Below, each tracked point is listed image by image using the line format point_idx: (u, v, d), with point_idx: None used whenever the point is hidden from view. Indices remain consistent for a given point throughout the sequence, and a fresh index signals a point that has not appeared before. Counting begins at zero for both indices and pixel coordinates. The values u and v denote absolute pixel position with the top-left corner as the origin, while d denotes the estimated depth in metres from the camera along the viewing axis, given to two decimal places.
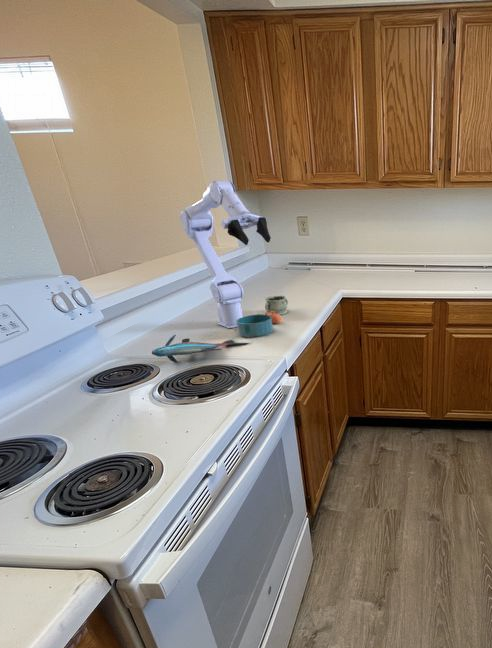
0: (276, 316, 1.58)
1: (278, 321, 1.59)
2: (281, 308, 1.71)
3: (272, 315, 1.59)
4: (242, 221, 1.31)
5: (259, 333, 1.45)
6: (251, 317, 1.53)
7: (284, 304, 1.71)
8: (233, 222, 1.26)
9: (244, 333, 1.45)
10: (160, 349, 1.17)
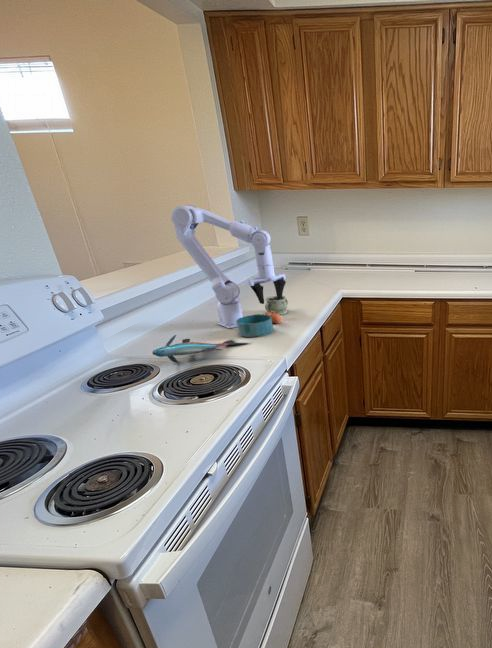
0: (276, 316, 1.58)
1: (278, 321, 1.59)
2: (281, 308, 1.71)
3: (272, 315, 1.59)
4: None
5: (259, 333, 1.45)
6: (251, 317, 1.53)
7: (284, 304, 1.71)
8: (258, 288, 1.50)
9: (244, 333, 1.45)
10: (161, 349, 1.17)
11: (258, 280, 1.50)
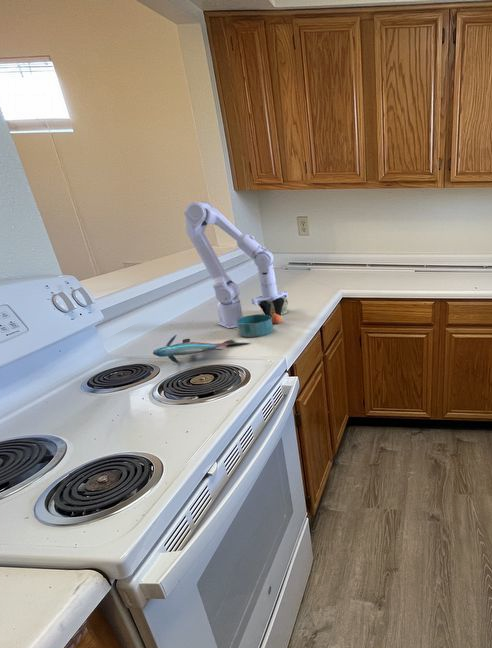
0: (276, 316, 1.58)
1: (278, 321, 1.59)
2: None
3: (272, 315, 1.59)
4: None
5: (259, 333, 1.45)
6: (251, 317, 1.53)
7: (284, 304, 1.71)
8: (266, 306, 1.54)
9: (244, 333, 1.45)
10: (161, 349, 1.17)
11: (261, 299, 1.53)
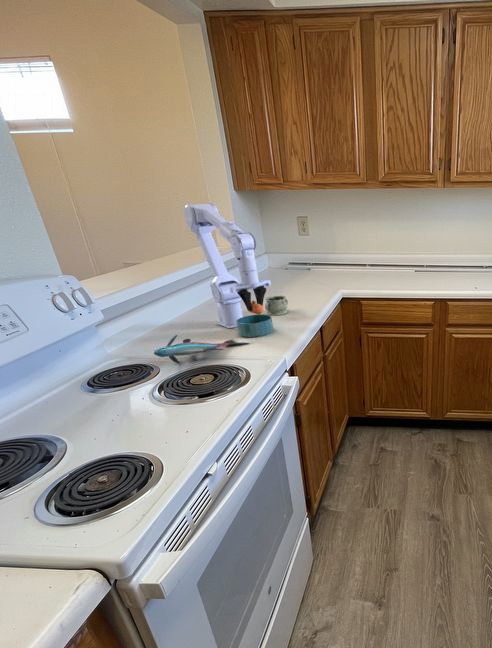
0: (257, 306, 1.45)
1: (260, 311, 1.45)
2: (281, 308, 1.71)
3: (253, 305, 1.46)
4: None
5: (259, 333, 1.45)
6: (251, 317, 1.53)
7: (284, 304, 1.71)
8: (246, 295, 1.41)
9: (244, 333, 1.45)
10: (162, 349, 1.17)
11: (240, 287, 1.40)
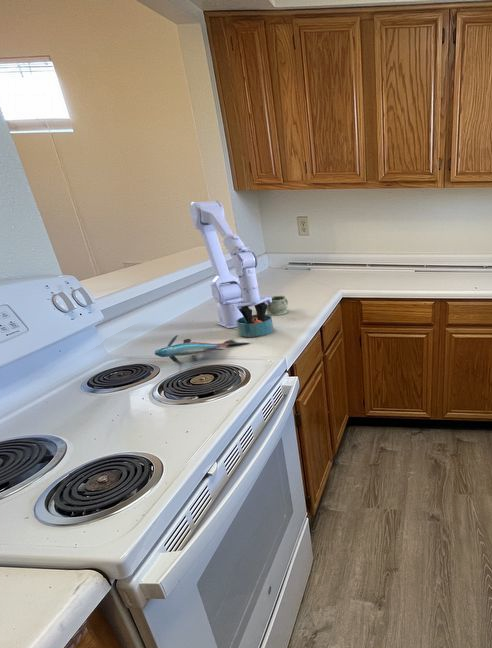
0: None
1: None
2: (281, 308, 1.71)
3: (254, 321, 1.47)
4: None
5: (259, 333, 1.45)
6: None
7: (284, 304, 1.71)
8: (247, 312, 1.43)
9: (244, 333, 1.45)
10: (163, 349, 1.17)
11: (242, 304, 1.41)
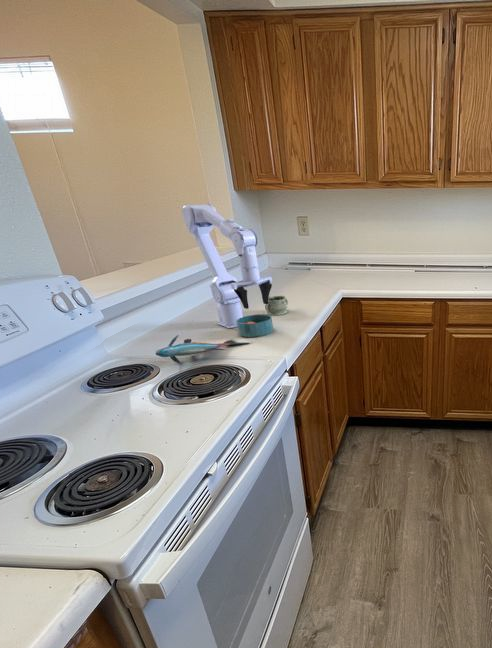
0: None
1: None
2: (281, 308, 1.71)
3: None
4: None
5: (259, 333, 1.45)
6: (251, 317, 1.53)
7: (284, 304, 1.71)
8: (242, 292, 1.40)
9: (244, 333, 1.45)
10: (164, 350, 1.17)
11: (241, 283, 1.40)
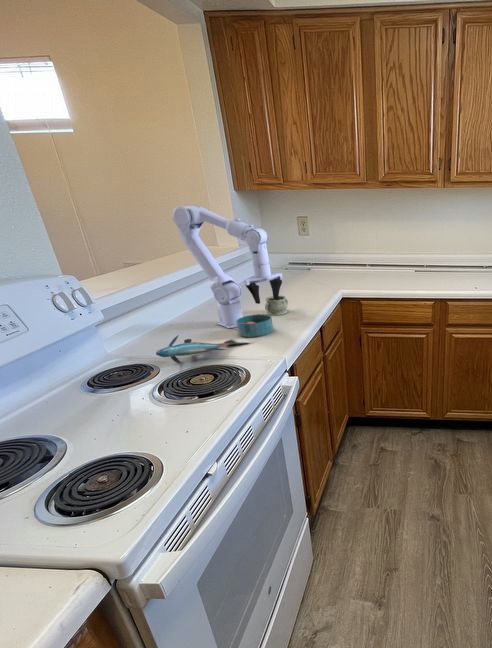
0: None
1: None
2: (281, 308, 1.71)
3: None
4: None
5: (259, 333, 1.45)
6: (251, 317, 1.53)
7: (284, 304, 1.71)
8: (254, 288, 1.46)
9: (244, 333, 1.45)
10: (164, 350, 1.17)
11: (254, 279, 1.46)
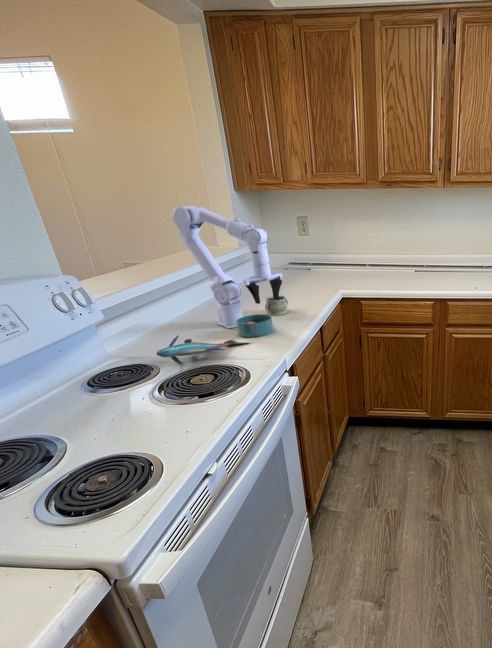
0: None
1: None
2: (281, 308, 1.71)
3: None
4: None
5: (259, 333, 1.45)
6: (251, 317, 1.53)
7: (284, 304, 1.71)
8: (254, 288, 1.46)
9: (244, 333, 1.45)
10: (165, 350, 1.17)
11: (254, 279, 1.46)
